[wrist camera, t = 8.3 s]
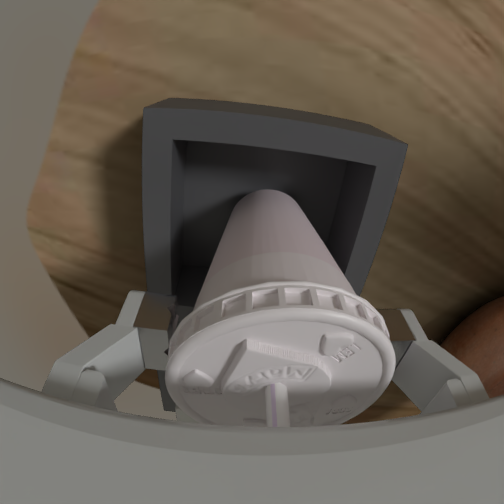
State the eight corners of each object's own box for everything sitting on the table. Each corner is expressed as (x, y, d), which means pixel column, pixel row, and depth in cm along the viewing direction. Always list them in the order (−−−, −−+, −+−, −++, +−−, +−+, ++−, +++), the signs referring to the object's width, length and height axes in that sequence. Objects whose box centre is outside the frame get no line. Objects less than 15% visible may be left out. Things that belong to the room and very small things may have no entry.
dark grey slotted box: (169, 97, 14) (73, 140, 6) (454, 149, 16) (574, 228, 7) (171, 364, 25) (154, 476, 16) (360, 372, 26) (388, 471, 18)
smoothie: (306, 142, 14) (483, 485, 2) (343, 252, 17) (431, 521, 5) (180, 193, 15) (64, 516, 3) (234, 289, 18) (224, 555, 7)
